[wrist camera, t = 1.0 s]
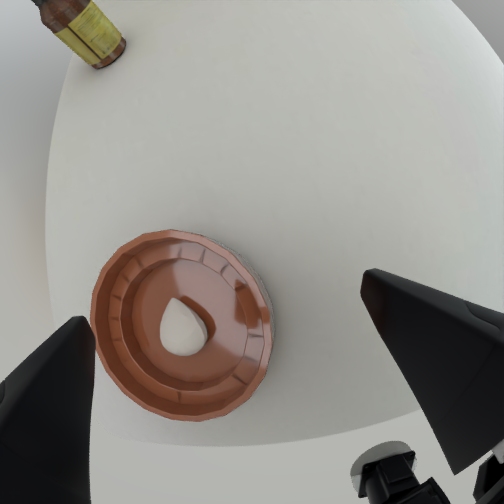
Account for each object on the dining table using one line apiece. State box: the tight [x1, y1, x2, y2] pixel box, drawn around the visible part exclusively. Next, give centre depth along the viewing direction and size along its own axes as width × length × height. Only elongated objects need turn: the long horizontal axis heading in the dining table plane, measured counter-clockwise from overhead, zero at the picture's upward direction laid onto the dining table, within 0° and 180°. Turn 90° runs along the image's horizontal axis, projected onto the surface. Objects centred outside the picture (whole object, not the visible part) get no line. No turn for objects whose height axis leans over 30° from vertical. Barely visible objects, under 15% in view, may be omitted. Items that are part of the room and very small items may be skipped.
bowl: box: [90, 229, 275, 422], centre depth 21 cm, size 15×15×4 cm
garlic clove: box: [160, 298, 209, 356], centre depth 22 cm, size 4×5×2 cm
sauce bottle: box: [32, 0, 126, 68], centre depth 17 cm, size 6×6×20 cm
